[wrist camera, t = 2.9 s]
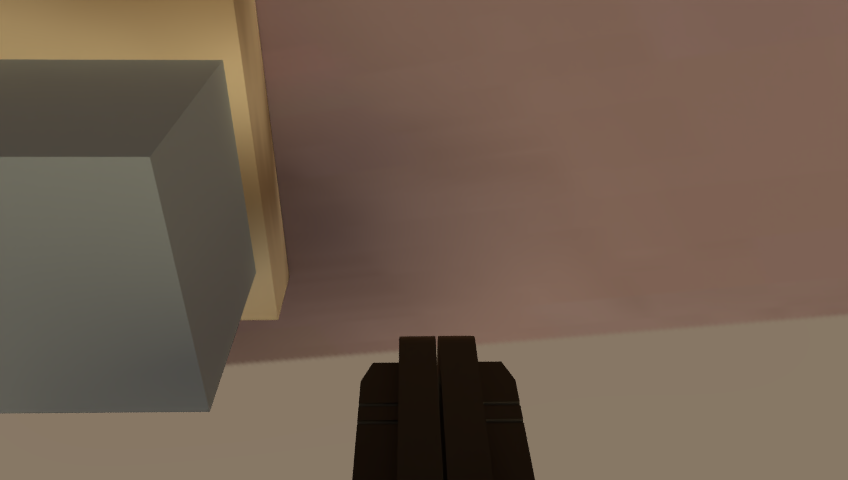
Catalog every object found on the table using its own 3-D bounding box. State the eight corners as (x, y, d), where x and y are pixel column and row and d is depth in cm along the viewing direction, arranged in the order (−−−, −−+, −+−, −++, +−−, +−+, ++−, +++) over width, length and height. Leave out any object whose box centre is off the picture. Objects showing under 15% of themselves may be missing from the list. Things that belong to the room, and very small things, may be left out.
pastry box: (-79, 59, 18) (-274, 157, 13) (222, 60, 18) (150, 156, 13) (7, 273, 22) (-116, 414, 16) (256, 272, 22) (209, 411, 17)
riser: (-143, -40, 19) (-213, -21, 17) (250, -37, 19) (230, -19, 17) (-9, 278, 25) (-49, 321, 23) (289, 276, 25) (278, 319, 23)
